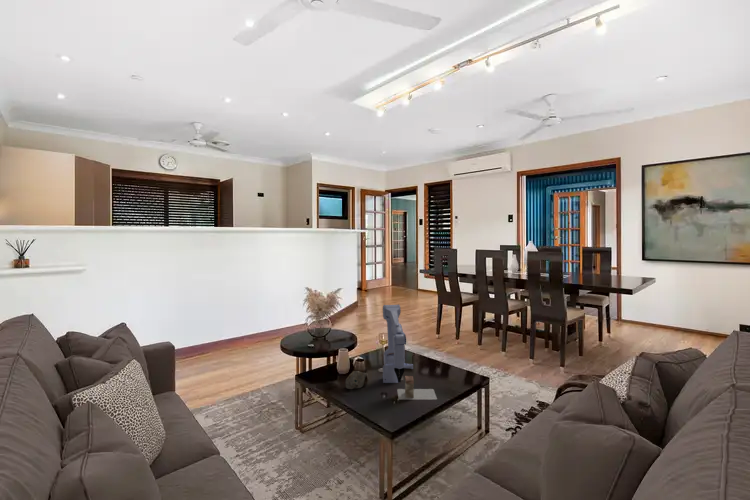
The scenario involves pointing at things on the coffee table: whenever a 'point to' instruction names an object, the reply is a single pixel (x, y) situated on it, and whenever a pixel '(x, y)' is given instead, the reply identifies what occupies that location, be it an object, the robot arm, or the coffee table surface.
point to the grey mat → (418, 394)
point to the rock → (355, 380)
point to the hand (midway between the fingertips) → (399, 381)
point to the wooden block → (409, 387)
